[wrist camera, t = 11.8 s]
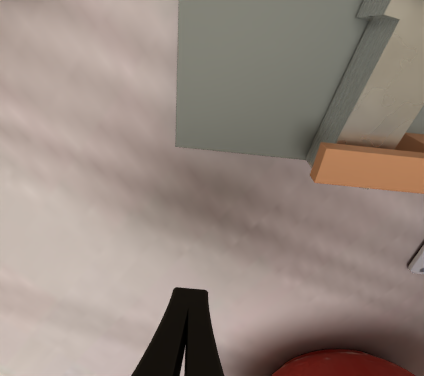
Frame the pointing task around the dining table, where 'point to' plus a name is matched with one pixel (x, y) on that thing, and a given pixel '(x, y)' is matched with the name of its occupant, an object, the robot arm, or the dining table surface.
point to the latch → (379, 80)
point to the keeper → (373, 165)
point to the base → (262, 72)
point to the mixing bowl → (340, 365)
